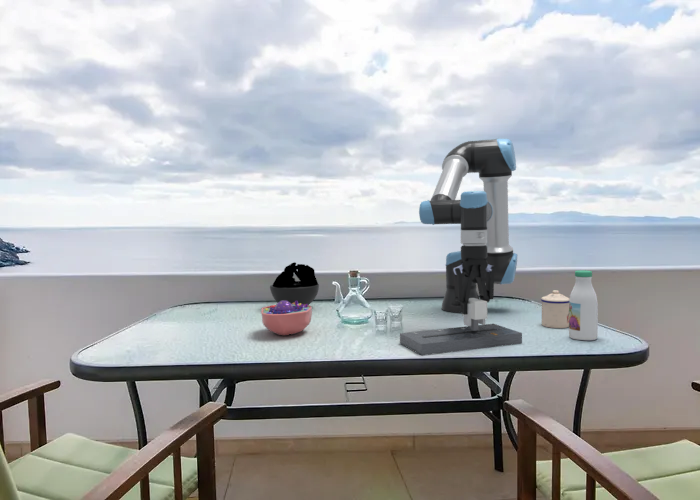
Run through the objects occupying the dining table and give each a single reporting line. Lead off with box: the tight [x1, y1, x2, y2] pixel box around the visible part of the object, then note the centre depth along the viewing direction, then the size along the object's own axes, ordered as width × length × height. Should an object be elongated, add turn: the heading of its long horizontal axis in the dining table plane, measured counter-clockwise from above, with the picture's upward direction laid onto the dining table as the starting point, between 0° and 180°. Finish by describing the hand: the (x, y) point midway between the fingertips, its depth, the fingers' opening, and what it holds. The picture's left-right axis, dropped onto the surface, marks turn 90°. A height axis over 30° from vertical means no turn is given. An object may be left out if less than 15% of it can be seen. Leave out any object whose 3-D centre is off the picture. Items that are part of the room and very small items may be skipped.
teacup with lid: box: [540, 289, 570, 329], centre depth 169 cm, size 12×9×12 cm
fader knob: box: [461, 298, 488, 331], centre depth 148 cm, size 7×4×9 cm, turn 19°
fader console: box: [399, 323, 523, 356], centre depth 147 cm, size 14×32×3 cm, turn 109°
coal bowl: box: [269, 261, 320, 306], centre depth 209 cm, size 20×20×19 cm
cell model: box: [260, 301, 313, 336], centre depth 165 cm, size 17×20×11 cm
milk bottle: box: [568, 269, 599, 341], centre depth 150 cm, size 8×8×20 cm
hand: (474, 324), depth 149 cm, fingers closed on fader knob, 4 cm apart
